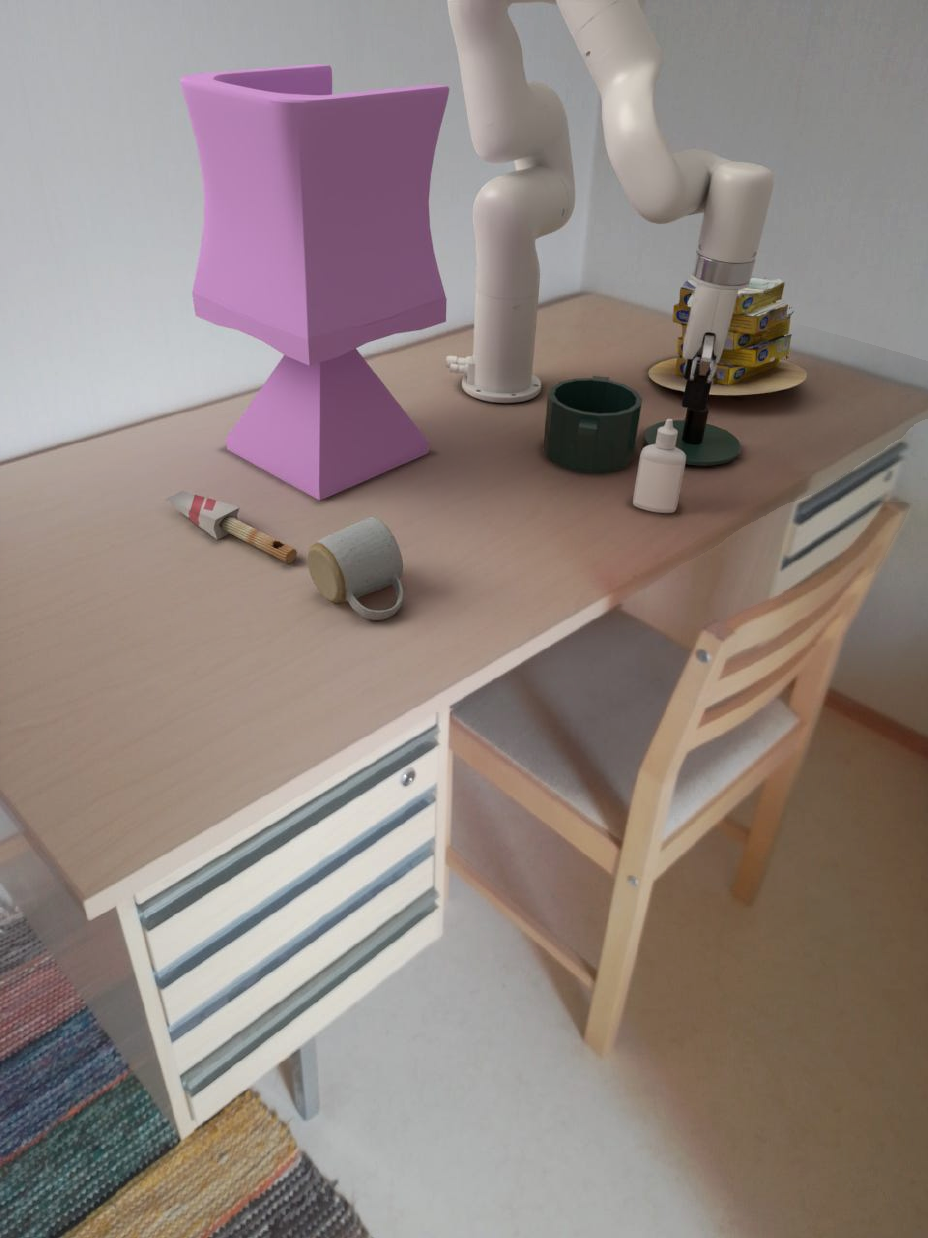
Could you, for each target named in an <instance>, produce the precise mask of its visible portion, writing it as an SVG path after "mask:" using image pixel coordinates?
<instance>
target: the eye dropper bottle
mask: <svg viewBox="0 0 928 1238" xmlns="http://www.w3.org/2000/svg"><path fill="white" fill-rule="evenodd" d="M673 420H674V419H673V418H667V419H666V420H665V421H666V423H665V425H664V426H663V427H660V428H659V429H658V432H657V438H656V443H655V444H652V445H648V446H646V445H645V446H644V447H643V448H642V450H641V451H640V456H639V461H638V466H637V467H638V468H637V472H636V479H635V485H634V491H633V498H632V504H633V506H634V507H636V508H638V509H640V510H644V511H647V512H651V513H659V514H672V513H674V512H676V510H677V508H678V503H679V499H680V493H681V487H682V483H683V479H684V472H685V468H686V464H685V462H686V455H685V453H684V452H683V451H682V450H680V449H678V448H676V447H675V445H676V439H677V434H678V431H677V430H676V429H675V428H673Z"/></svg>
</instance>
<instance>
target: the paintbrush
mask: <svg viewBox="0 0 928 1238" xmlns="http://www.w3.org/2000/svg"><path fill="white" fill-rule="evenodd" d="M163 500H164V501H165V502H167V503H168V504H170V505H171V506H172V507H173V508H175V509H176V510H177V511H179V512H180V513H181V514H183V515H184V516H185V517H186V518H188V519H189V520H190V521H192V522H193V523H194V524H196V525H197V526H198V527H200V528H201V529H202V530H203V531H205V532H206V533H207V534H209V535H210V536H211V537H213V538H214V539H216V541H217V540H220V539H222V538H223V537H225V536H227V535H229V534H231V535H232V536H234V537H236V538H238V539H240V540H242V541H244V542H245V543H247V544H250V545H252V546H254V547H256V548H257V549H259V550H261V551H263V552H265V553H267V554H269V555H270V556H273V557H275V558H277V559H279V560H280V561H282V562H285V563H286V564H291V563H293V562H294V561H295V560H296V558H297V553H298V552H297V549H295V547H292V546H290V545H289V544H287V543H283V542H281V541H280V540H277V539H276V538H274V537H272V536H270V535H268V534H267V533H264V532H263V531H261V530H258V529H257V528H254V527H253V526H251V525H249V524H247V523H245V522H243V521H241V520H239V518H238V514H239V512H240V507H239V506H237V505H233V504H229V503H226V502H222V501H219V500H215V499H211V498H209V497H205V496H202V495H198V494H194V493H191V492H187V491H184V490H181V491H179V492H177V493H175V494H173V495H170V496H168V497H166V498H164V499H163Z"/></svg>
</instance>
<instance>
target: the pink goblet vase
mask: <svg viewBox="0 0 928 1238" xmlns="http://www.w3.org/2000/svg"><path fill="white" fill-rule="evenodd" d="M179 82H180V86H181V90H182V94H183V98H184V101H185V105H186V108H187V112H188V115H189V119H190V122H191V123H190V124H191V126H192V127H191V128H192V130H193V134H194V135H193V136H194V138H195V142H196V147H197V152H198V158H199V164H200V169H201V179H202V188H203V222H202V223H203V224H202V232H201V241H200V243H201V244H200V249H199V255H198V261H197V267H196V272H195V275H194V280H193V286H192V291H191V292H192V293H191V294H192V300H193V307H194V308H193V309H194V316H195V317H197V318H200V319H201V320H203V321H204V320H205V321H206V322H209V323H211V324H213V325H215V326H218V327H219V326H220V327H223V328H227V329H233V330H235V331H236V330H237V331H238V332H241V333H243V334H246V335H247V336H251V337H252V338H254V339H257V340H259V341H261V342H263V343H265V344H266V345H267V346H269V347H271V348H272V349H274V350H276V351H277V352H278V353H281V354H282V355H283V356H282V358H281V359H280V360H279V362H278V364H277V365H276V366H275V368H274V369H273V370H272V372H271V373H270V375H269V376H268V378H267V379H266V380H265V382H264V384H262V386H261V388H260V389H259V390H258V392H257V394H255V396H254V397H253V399H252V400H251V402H250V403H249V404H248V406H247V408H246V409H245V411H244V412H243V413H242V415H241V416H240V417H239V419H238V421H237V422H236V423H235V425H233V428H232V429H231V430H230V432H229V433H228V435H227V436H226V438H225V442H226V450H227V451H229V452H231V453H233V454H234V455H236V456H238V457H240V458H241V459H243V460H245V461H247V462H248V463H250V464H253V465H254V466H256V467H258V468H260V469H261V470H264V471H265V472H267V473H269V474H271V475H272V476H274V477H276V478H277V479H280V480H282V481H283V482H285V483H287V484H288V485H290V486H293V487H294V488H295V489H297V490H300V491H301V492H303V493H305V494H307V495H309V496H310V497H312V498H314V499H316V500H318V501H322V500H325V499H327V498H329V497H331V496H333V495H336V494H338V493H341V492H343V491H346V490H348V489H350V488H352V487H355V486H356V485H359V484H361V483H364V482H365V481H367V480H370V479H372V478H375V477H377V476H379V475H380V476H381V475H382V474H384V473H387V472H388V471H391V470H394V469H395V468H396V469H397V468H398V467H400V466H402V465H404V464H407V463H409V462H411V461H413V460H416V459H418V458H421V457H423V456H425V455H428V454H429V453H430V452H429V449H430V447H429V444H430V443H429V441H428V439H427V438H426V437H425V435H424V434H423V433H422V431H421V430H420V429H419V427H417V425H416V424H415V422H414V421H413V420H412V419H411V417H410V416H409V415H408V413H407V412H406V411H405V410H404V408H403V407H402V406H401V404H400V403H399V401H397V399H396V398H395V397H394V396H393V394H392V392H390V390H389V389H388V388H387V386H386V385H385V384H384V383H383V381H382V380H381V378H380V377H379V376H378V375H377V373H376V372H375V371H374V370H373V368H372V367H371V366H370V364H369V363H368V361H366V360H365V358H364V357H363V356H362V354H361V353H360V351H358V348H360V347H362V346H364V345H366V344H368V343H371V342H374V341H377V340H380V339H383V338H386V337H390V336H393V335H395V334H404V333H409V332H415V331H416V332H417V331H422V330H425V329H428V328H431V327H434V326H438V325H441V324H444V323H446V322H447V300H448V299H447V296H446V293H445V288H444V286H443V282H442V281H443V280H442V278H441V274H440V271H439V267H438V263H437V258H436V254H435V250H434V243H433V237H432V230H431V218H430V193H431V191H430V190H431V181H432V180H431V178H432V171H433V165H434V160H435V154H436V148H437V143H438V140H439V134H440V130H441V126H442V123H443V118H444V115H445V111H446V107H447V104H448V103H447V102H448V99H449V95H450V86H449V85H442V84H437V83H431V84H421V85H411V86H401V87H391V88H384V89H383V88H382V89H373V90H364V91H354V92H345V93H335V94H333V70H332V66H331V65H329V64H323V63H312V64H300V65H298V64H297V65H288V66H287V65H286V66H274V67H262V68H261V67H260V68H250V69H249V68H247V69H237V70H225V71H210V72H209V71H208V72H199V73H190V74H185V75H182V76H181V78H180V79H179Z"/></svg>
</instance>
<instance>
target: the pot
mask: <svg viewBox="0 0 928 1238" xmlns="http://www.w3.org/2000/svg"><path fill="white" fill-rule="evenodd" d="M642 404H643V397H642V396H641V395H640V394H639V392H638V390H636V389H634V388H632V387H630V386H628V385H626V384H624V383H621V382H617V381H613V380H610V377H607V376H599V375H592V377H581V378H571V379H566V380H561V381H559V382H557V383H556V384H553V385H552V386H551V387H550V388H549V391H548V393H547V402H546V413H545V414H546V415H545V423H544V435H543V443H542V444H543V446H542V448H543V454H544V456H545V457H546V458H547V459H548V460H549V461H550V462H551V463H552V464H554V465H556V466H558V467H560V468H562V469H565V470H569V471H572V472H577V473H581V474H595V475H596V474H597V475H598V474H600V475H601V474H608V473H609V474H610V473H615V472H618V471H621V470H624V469H625V468H627V467H628V466H630V465H631V463H632V462H633V459H634V455H635V454H634V453H635V448H636V441H637V435H638V428H639V422H640V416H641V410H642Z"/></svg>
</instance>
